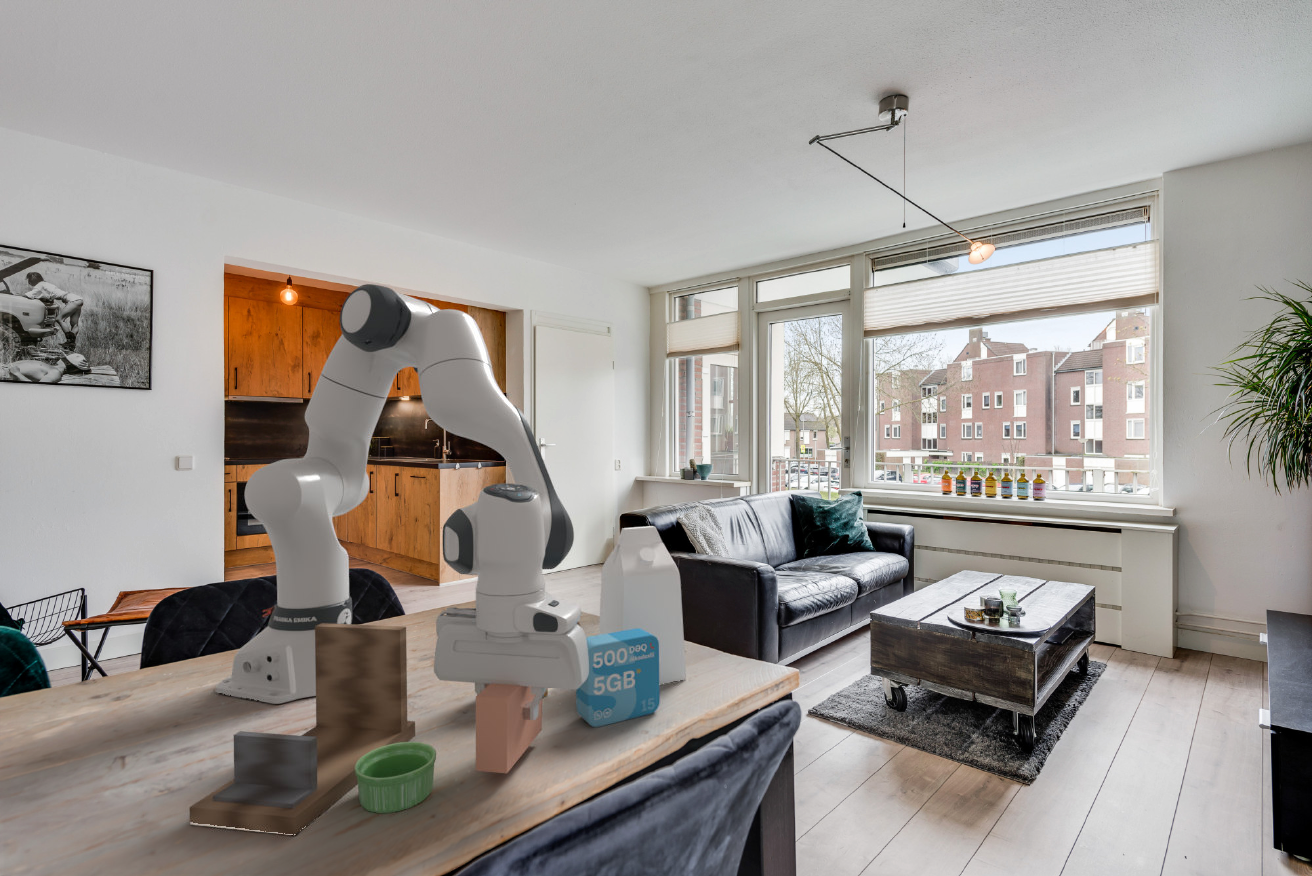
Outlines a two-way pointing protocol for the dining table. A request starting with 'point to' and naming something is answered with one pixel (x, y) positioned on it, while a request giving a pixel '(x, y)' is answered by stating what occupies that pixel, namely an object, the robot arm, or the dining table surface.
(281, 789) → the shelf stand
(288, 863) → the dining table surface
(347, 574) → the robot arm
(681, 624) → the milk
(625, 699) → the data package
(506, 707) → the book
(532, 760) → the dining table surface
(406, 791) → the ramekin
